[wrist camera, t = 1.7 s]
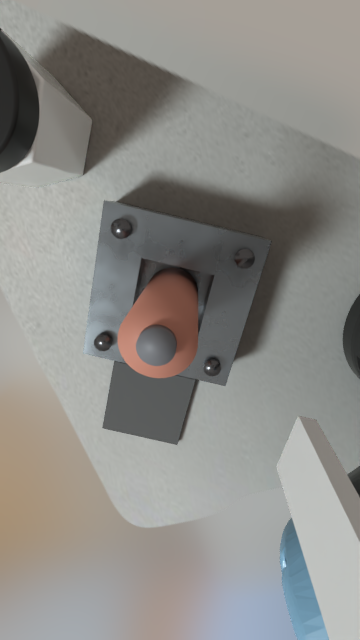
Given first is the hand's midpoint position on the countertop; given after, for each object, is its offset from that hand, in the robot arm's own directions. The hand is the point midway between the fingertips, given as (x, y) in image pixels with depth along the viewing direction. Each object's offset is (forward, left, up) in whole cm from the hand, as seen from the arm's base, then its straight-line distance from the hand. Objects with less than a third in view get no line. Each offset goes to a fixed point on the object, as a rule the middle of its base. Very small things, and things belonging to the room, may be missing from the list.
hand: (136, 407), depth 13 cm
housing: (0, 0, -20) cm, 20 cm away
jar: (+14, -11, -20) cm, 27 cm away
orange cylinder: (0, 0, -19) cm, 19 cm away
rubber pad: (0, +14, -20) cm, 24 cm away
